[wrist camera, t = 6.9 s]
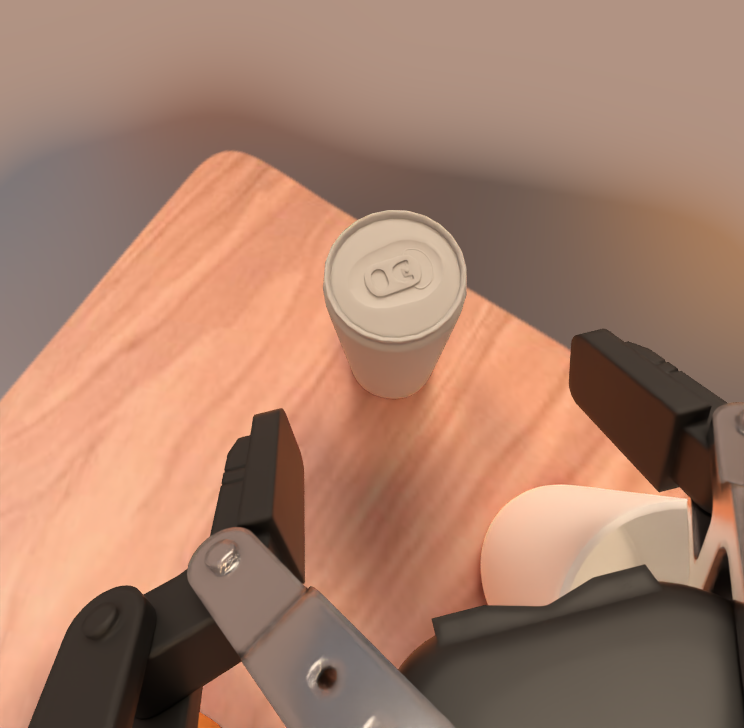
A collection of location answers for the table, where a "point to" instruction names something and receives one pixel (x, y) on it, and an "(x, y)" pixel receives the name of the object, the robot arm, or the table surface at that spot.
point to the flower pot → (206, 722)
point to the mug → (580, 541)
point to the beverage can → (394, 298)
